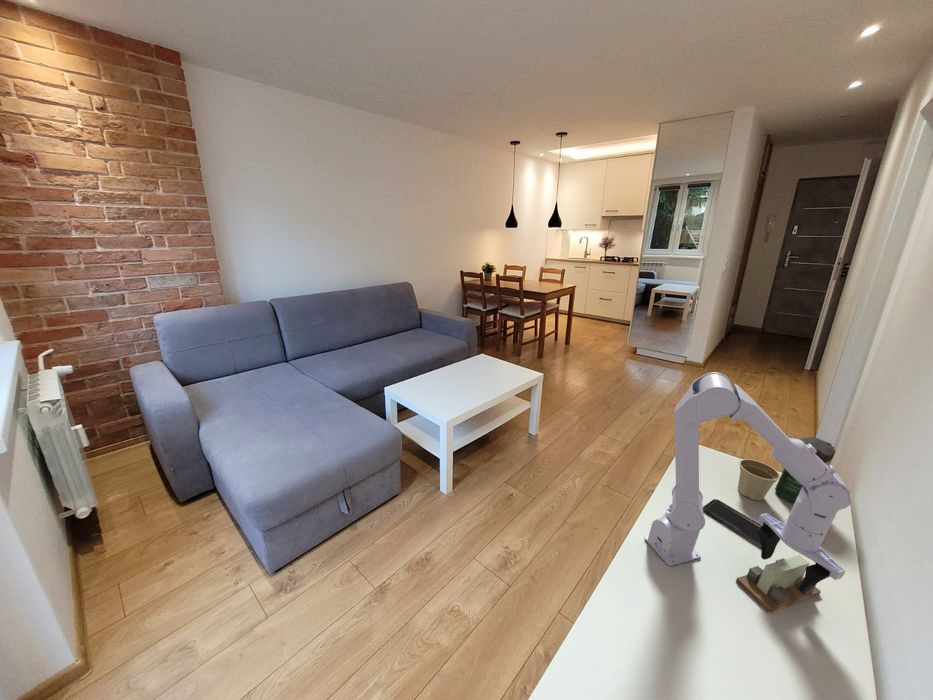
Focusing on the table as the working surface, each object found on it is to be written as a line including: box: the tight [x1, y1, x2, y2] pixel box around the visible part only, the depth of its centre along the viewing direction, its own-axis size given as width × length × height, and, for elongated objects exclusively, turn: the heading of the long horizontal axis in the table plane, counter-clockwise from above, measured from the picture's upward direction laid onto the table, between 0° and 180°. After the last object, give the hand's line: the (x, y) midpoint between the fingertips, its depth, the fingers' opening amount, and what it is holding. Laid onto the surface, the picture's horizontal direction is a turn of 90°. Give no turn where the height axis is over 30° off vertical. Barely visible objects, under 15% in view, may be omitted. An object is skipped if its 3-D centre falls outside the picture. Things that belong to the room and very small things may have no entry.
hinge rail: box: [735, 557, 822, 613], centre depth 78 cm, size 15×7×4 cm, turn 106°
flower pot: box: [737, 458, 781, 501], centre depth 105 cm, size 9×9×9 cm
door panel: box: [757, 554, 811, 594], centre depth 77 cm, size 10×2×6 cm, turn 106°
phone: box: [703, 498, 763, 549], centre depth 95 cm, size 8×1×15 cm
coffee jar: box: [774, 436, 836, 504], centre depth 103 cm, size 10×8×19 cm
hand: (784, 573), depth 77 cm, fingers open, 7 cm apart
